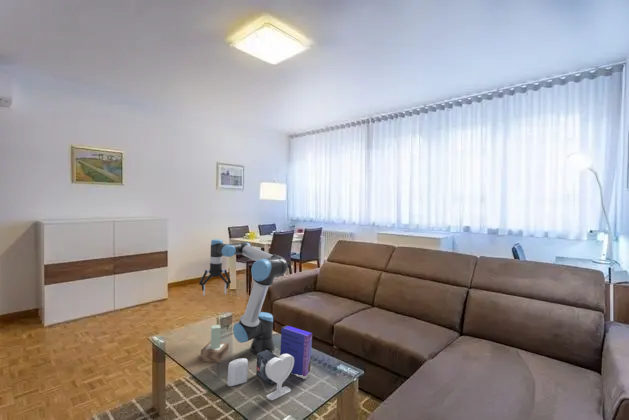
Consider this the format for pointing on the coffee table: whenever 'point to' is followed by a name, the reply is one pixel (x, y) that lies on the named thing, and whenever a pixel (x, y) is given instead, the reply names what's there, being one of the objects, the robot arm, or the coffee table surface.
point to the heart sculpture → (279, 373)
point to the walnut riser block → (214, 352)
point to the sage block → (215, 336)
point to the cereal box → (297, 348)
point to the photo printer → (237, 371)
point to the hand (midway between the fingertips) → (214, 294)
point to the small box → (264, 365)
